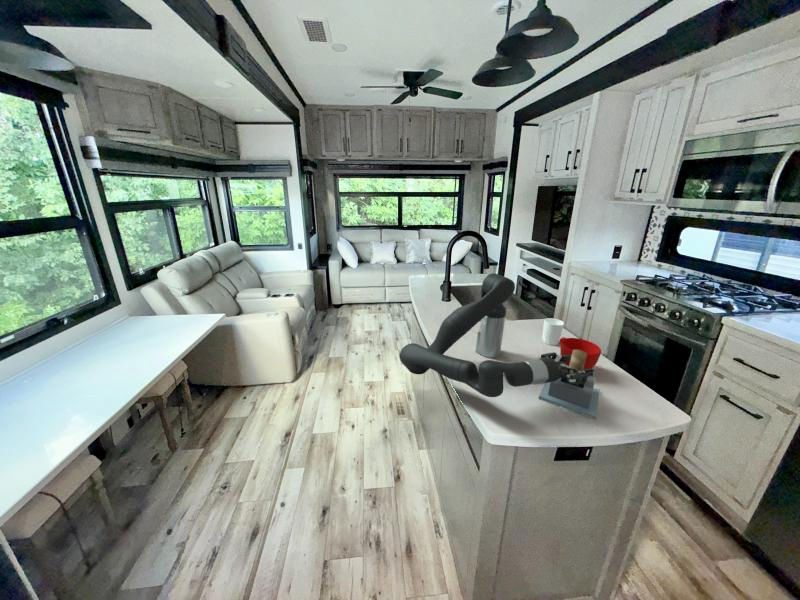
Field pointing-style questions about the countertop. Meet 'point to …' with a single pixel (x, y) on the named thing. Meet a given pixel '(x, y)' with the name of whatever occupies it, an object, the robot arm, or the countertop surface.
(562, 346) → the ceramic cup
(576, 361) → the wooden cylinder
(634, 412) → the countertop surface
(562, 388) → the socket block
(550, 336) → the white cup
